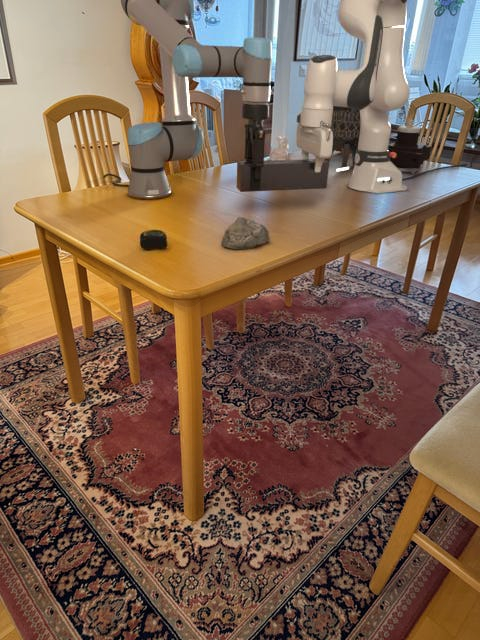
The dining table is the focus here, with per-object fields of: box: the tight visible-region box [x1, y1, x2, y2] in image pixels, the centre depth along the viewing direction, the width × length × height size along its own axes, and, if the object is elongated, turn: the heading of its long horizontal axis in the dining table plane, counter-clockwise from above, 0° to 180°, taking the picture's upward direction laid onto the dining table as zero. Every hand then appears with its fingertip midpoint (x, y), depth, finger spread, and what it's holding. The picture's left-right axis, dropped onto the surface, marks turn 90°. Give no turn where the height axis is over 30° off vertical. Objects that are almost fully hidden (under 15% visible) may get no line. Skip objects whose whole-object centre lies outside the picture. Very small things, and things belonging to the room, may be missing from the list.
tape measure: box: [139, 229, 168, 250], centre depth 117 cm, size 7×7×4 cm
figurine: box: [265, 134, 290, 161], centre depth 208 cm, size 8×15×13 cm, turn 145°
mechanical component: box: [388, 119, 433, 174], centre depth 204 cm, size 22×21×30 cm
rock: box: [221, 216, 270, 250], centre depth 119 cm, size 13×9×6 cm, turn 131°
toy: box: [335, 147, 352, 155], centre depth 240 cm, size 11×6×15 cm
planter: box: [324, 106, 360, 172], centre depth 204 cm, size 20×20×26 cm
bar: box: [236, 158, 330, 193], centre depth 138 cm, size 28×5×8 cm, turn 104°
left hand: (252, 187), depth 137 cm, fingers closed on bar, 5 cm apart
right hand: (310, 168), depth 139 cm, fingers open, 8 cm apart
